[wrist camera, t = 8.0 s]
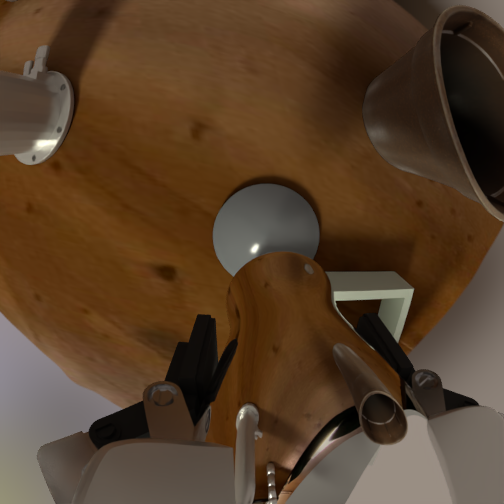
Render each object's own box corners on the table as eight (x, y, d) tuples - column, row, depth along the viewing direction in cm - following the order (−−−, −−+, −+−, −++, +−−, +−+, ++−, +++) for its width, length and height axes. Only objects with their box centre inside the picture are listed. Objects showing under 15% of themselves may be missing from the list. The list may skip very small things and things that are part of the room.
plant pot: (471, 152, 25) (564, 165, 10) (394, 217, 28) (492, 269, 13) (410, 42, 21) (492, -2, 6) (314, 93, 24) (382, 28, 9)
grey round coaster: (213, 182, 27) (212, 183, 26) (321, 185, 27) (323, 186, 26) (215, 282, 30) (214, 285, 30) (312, 283, 30) (314, 286, 30)
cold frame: (246, 270, 30) (246, 291, 25) (394, 271, 30) (414, 288, 25) (245, 376, 35) (245, 403, 30) (367, 369, 35) (378, 392, 30)
